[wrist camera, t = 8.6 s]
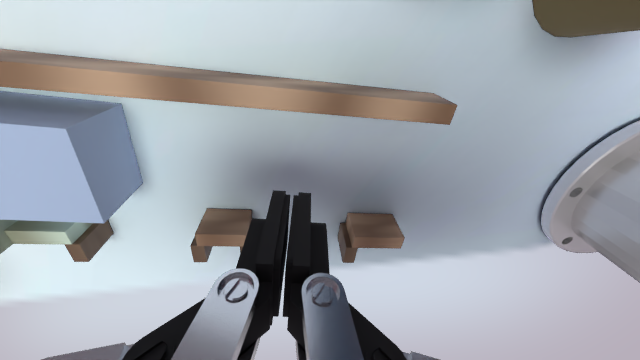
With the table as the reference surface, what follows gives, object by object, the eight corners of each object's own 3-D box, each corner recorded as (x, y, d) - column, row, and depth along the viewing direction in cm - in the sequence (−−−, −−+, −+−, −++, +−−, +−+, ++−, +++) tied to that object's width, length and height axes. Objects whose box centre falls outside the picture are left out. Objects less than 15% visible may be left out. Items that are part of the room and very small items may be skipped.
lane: (433, 93, 14) (469, 111, 11) (384, 238, 20) (399, 274, 17) (-78, 40, 11) (-214, 46, 8) (42, 231, 17) (-11, 275, 14)
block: (123, 102, 13) (65, 129, 10) (144, 181, 16) (103, 223, 13) (-9, 89, 12) (-121, 112, 9) (35, 174, 15) (-39, 218, 12)
